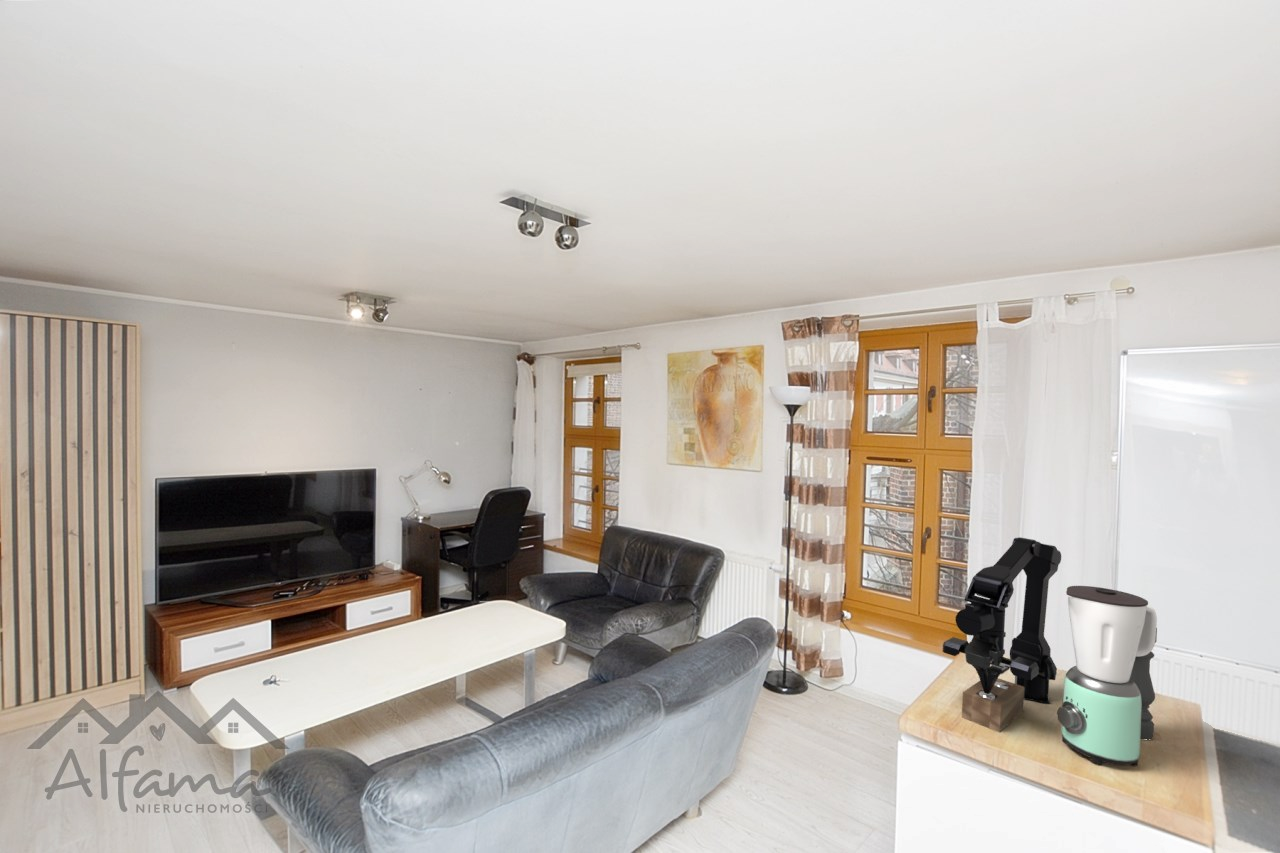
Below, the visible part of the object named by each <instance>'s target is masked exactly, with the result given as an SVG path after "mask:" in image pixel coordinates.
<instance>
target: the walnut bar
mask: <svg viewBox="0 0 1280 853" xmlns="http://www.w3.org/2000/svg"><path fill="white" fill-rule="evenodd" d="M996 681H998V682H1003V683H1005V684H1007V685H1008V686H1009V688H1008V689H1004V688H1001V687H998V686H995V685H994V686H993V688H992V690H991V692H990V693H992V694H994V695H995V699H994V700H991V699H988V698H985V697H983V696H980V695H979V692H981V691H984V690H983V687H982V684H981V681H980V680H978V681H977V682H975V683H974V684H973V685H971V686H970V687H968V688H966V689H965V690H964V691H963V692H962V700H961V701H962V704H961V706H962V708H961V718H963V719H965V720H968V721H970V722H973V723H975V724H978V725H980V726H983V727H986V728H988V729H990V730H993V731H994V732H997V733H1001V732H1002V731H1003V730H1004V729H1005V728H1006V727H1007V726H1008V725H1010V724H1011V723H1012V722H1013V721H1015V719H1016V718H1018V717H1019V716H1020V715H1021V714H1022V713H1023V712H1024V705H1025V699H1024V688H1025V687H1023V686H1020V685H1017V684H1015V682H1014V683H1013V682H1011V681H1009V680H1005V679H1002V678H999V677H998V678H997V680H996Z"/></svg>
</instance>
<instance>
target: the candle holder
mask: <svg viewBox="0 0 1280 853" xmlns="http://www.w3.org/2000/svg"><path fill="white" fill-rule="evenodd" d="M1157 636H1158V628H1157V627H1156V639H1155V644H1156V643H1157V640H1158V639H1157V638H1158V637H1157ZM1154 657H1155V654H1154V652H1153V651H1151V652H1150V653H1148V654H1147V655H1145V656H1140V657H1135V661H1134V665H1133V668H1132V672H1131V676H1130V679H1131V680H1132V681H1133V682H1134V683H1135V684H1136V685H1137V687H1138V689H1139V691H1140V693H1141V701H1142V708H1141V735H1140V740H1141V739H1147V740H1146V741H1150V740H1149V739H1152V738H1153V739H1154V732H1155V731H1154V730H1155V724H1154V721H1153V720H1152V719H1154V716H1153V715H1152V713H1151V711H1150V710H1149V709H1150V706H1151V705H1152V704H1153V703H1154V701H1155V700H1156V694H1155V689H1154V686H1153V682H1152V677H1151V674H1150V672H1151V671H1150V670H1151V669H1150V668H1151V665H1150V664H1151V660H1152V659H1153V658H1154ZM1153 739H1152V740H1153Z"/></svg>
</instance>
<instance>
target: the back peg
mask: <svg viewBox="0 0 1280 853" xmlns="http://www.w3.org/2000/svg"><path fill="white" fill-rule="evenodd" d="M994 685H995V686H998V687H1001V688H1004V689H1008V688H1009V686H1008V685H1007V684H1005V683H1003V682H998V681H996V682H995V684H994Z"/></svg>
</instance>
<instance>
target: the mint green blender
mask: <svg viewBox="0 0 1280 853" xmlns="http://www.w3.org/2000/svg"><path fill="white" fill-rule="evenodd" d="M1065 593H1066V594H1065V595H1066V596H1067V602H1068V603H1067V605H1068V613H1069V615H1068V616H1069V622H1070V630H1071V637H1072V644H1073V650H1074V651H1073V652H1074V659H1075V664H1076V665H1075V666H1072V667H1070V668H1069V669H1068V670H1067V672H1066V673H1065V676H1064V683H1063V698H1062V706H1060V707H1058V708H1057V710H1056V715H1057V716H1056V717H1057V720H1058V722H1059V723H1060V725H1061V737H1062V742H1063V743H1064V744H1067V745H1068V746H1069V747H1070V748H1072V749H1073V750H1074V751H1076V752H1078V753H1080V754H1082V755H1084V756H1086V757H1088V758H1090V762H1091V763H1092V764H1093V765H1095V766H1103V764H1104V763H1107V764H1110V765H1111V764H1112V765H1118V766H1132V767H1133V766H1134V767H1138V766H1139V759H1140V757H1141V755H1140V754H1141V739H1140V735H1141V708H1142V701H1141V693H1140V691H1139V689H1138V687H1137V685H1136V684H1135V683H1134V682H1133V681H1132V680H1131V679H1130V676H1131V672H1132V668H1133V665H1134V661H1135V657H1140V656H1145V655H1147V654H1148V653H1150V652H1153V650H1154V647H1155V645H1156V643H1155V639H1156V628H1157V622H1158V620H1157V619H1158V618H1157V613H1156V610H1155V609H1154V608H1153V607H1152V606H1150V605H1149V601H1148V600H1147V599H1145V598H1143V597H1141V596H1139V595H1135V594H1132V593H1129V592H1126V591H1125V592H1124V591H1120V590H1116V589H1112V588H1111V589H1110V588H1104V587H1098V586H1092V585H1091V586H1090V585H1089V586H1088V585H1071V586H1070V585H1069V586H1068V587H1067V588H1066V592H1065ZM1156 640H1157V639H1156Z"/></svg>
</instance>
